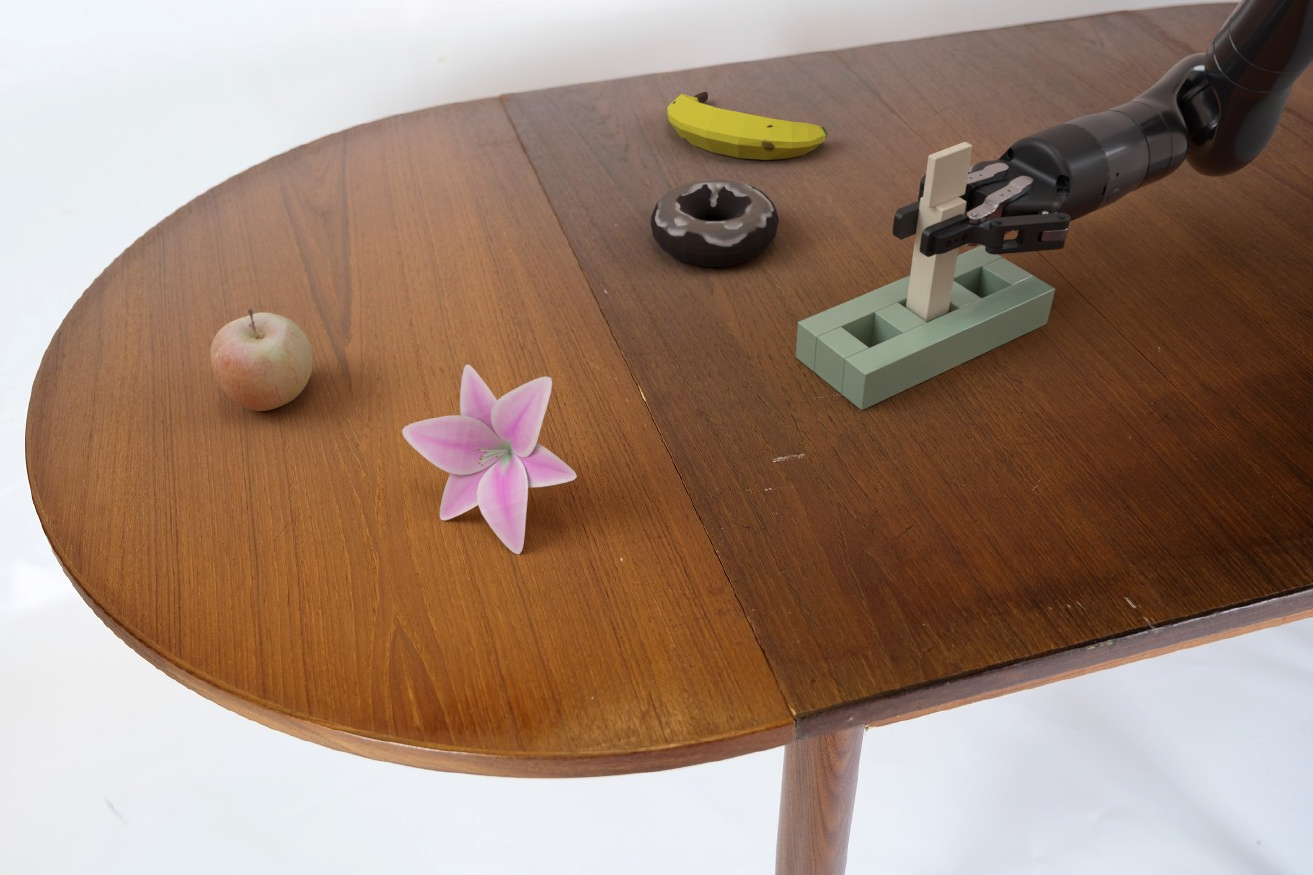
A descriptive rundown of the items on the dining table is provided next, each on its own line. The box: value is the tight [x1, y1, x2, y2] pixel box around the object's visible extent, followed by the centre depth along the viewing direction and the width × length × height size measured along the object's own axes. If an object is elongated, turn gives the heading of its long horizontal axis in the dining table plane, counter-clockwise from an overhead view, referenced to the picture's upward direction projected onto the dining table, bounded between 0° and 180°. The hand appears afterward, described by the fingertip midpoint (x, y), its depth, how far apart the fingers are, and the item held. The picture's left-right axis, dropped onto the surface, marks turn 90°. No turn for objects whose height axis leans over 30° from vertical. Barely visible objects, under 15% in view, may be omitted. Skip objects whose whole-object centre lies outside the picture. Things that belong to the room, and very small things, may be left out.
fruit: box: [209, 308, 314, 412], centre depth 87 cm, size 8×7×8 cm
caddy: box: [795, 244, 1056, 411], centre depth 91 cm, size 8×20×4 cm, turn 122°
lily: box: [401, 363, 578, 555], centre depth 78 cm, size 12×12×10 cm
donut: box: [650, 178, 780, 267], centre depth 104 cm, size 12×12×4 cm
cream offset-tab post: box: [906, 141, 973, 322], centre depth 86 cm, size 2×4×14 cm, turn 122°
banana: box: [666, 91, 828, 161], centre depth 121 cm, size 5×17×15 cm
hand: (910, 235), depth 84 cm, fingers closed on cream offset-tab post, 2 cm apart
